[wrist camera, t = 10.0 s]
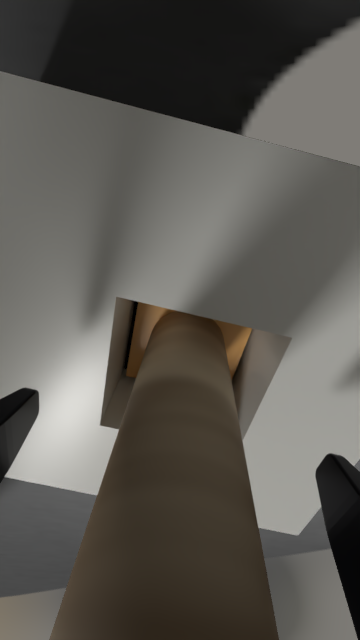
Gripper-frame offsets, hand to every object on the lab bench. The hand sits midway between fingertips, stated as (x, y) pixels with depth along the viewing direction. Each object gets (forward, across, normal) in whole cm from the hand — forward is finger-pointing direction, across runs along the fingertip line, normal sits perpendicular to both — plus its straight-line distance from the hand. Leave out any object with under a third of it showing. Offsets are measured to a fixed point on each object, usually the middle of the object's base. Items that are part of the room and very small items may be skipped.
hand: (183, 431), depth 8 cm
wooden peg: (+5, 0, 0) cm, 5 cm away
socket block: (+6, 0, 0) cm, 6 cm away
